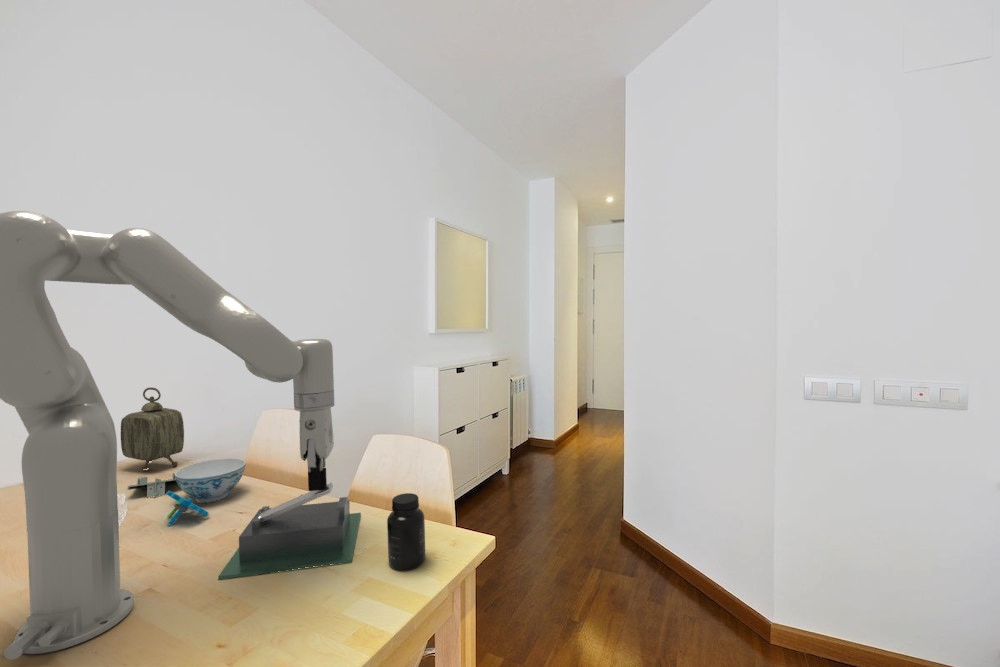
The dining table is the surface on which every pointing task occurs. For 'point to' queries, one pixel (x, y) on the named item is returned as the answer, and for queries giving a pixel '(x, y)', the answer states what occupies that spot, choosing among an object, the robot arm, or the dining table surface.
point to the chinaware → (210, 478)
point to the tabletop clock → (152, 432)
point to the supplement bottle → (406, 533)
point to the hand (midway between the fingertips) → (317, 488)
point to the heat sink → (296, 540)
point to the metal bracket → (153, 486)
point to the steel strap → (294, 503)
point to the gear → (182, 507)
